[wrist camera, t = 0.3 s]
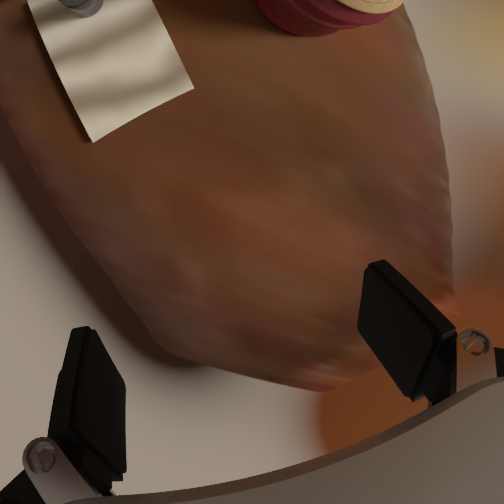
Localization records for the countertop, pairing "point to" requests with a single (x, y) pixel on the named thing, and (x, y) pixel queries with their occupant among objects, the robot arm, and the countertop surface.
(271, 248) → the countertop surface
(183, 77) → the cream rippled cloth
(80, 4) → the cylinder
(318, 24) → the canister
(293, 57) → the countertop surface
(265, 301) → the countertop surface
